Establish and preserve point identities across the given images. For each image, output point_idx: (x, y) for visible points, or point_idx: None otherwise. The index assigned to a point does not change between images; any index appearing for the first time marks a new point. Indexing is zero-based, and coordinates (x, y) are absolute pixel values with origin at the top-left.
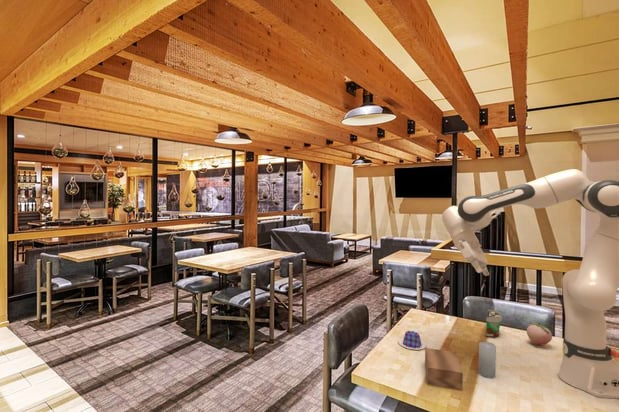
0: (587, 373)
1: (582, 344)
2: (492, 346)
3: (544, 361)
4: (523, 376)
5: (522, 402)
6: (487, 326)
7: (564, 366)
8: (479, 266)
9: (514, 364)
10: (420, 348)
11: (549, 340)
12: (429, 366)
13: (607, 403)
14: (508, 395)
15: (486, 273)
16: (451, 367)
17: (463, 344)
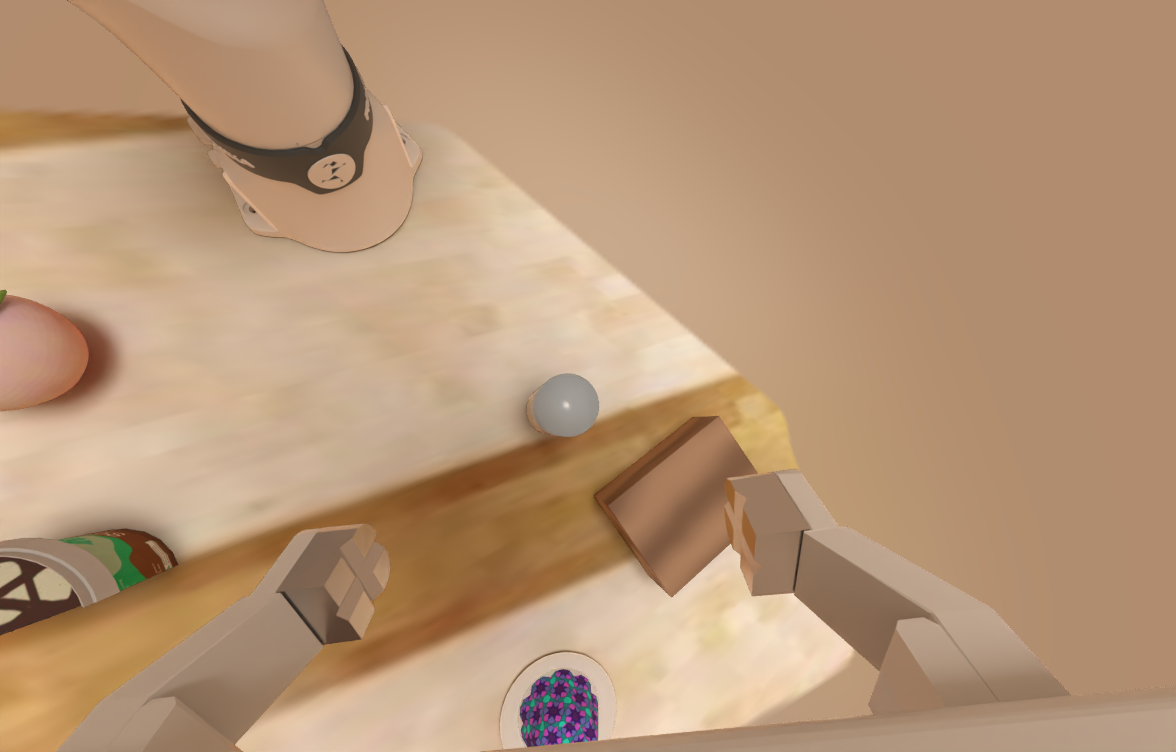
0: (395, 139)
1: (349, 76)
2: (566, 385)
3: (266, 305)
4: (467, 327)
5: (619, 291)
6: (133, 579)
7: (364, 210)
8: (847, 526)
9: (396, 373)
10: (568, 662)
11: (43, 305)
12: None
13: (437, 134)
14: (616, 325)
15: (365, 553)
16: (719, 454)
17: None
